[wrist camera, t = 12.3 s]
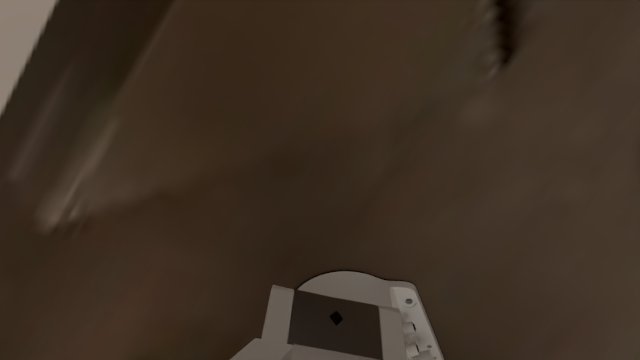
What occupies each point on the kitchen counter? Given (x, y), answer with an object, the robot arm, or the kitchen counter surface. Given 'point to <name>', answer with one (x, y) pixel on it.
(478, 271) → the kitchen counter surface
